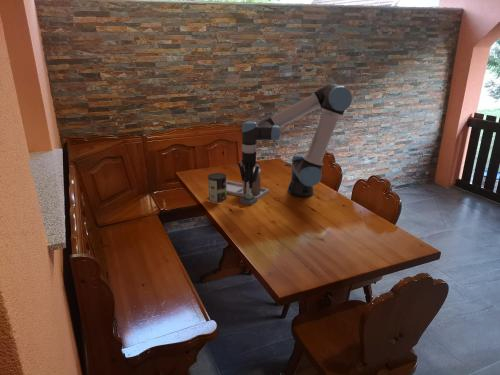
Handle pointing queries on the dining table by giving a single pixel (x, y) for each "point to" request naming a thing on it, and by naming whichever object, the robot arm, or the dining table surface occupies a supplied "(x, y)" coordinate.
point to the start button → (249, 196)
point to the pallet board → (241, 189)
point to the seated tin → (254, 185)
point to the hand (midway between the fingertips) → (248, 193)
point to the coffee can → (217, 187)
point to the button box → (248, 201)
